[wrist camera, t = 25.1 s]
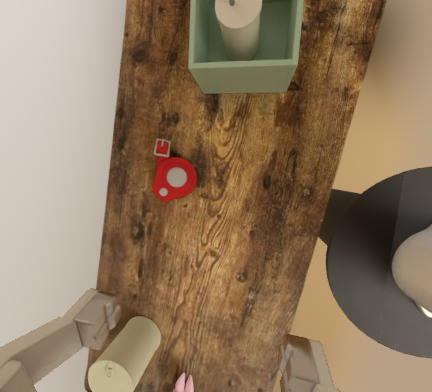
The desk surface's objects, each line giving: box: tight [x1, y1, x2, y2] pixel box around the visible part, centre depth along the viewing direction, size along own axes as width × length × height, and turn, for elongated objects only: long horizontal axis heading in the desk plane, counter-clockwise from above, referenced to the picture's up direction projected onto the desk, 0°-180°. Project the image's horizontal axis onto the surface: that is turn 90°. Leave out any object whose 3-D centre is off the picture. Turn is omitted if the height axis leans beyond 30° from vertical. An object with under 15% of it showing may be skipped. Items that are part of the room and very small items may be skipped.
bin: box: [188, 0, 304, 94], centre depth 33 cm, size 16×16×10 cm
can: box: [88, 316, 161, 392], centre depth 42 cm, size 9×9×12 cm
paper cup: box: [215, 0, 262, 61], centre depth 29 cm, size 6×6×16 cm
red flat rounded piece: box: [153, 139, 197, 202], centre depth 41 cm, size 12×4×10 cm
